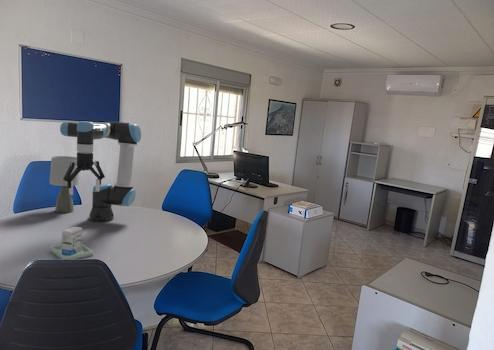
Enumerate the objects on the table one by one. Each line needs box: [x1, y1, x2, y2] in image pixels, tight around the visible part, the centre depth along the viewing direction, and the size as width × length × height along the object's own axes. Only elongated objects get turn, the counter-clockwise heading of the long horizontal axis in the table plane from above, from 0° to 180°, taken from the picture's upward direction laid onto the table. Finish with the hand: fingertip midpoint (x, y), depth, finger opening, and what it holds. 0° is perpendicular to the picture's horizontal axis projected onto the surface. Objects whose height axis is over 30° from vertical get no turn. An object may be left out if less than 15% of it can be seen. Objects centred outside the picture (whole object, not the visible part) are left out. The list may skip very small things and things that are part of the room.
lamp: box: [48, 155, 81, 214], centre depth 229 cm, size 19×19×37 cm
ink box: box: [61, 226, 83, 255], centre depth 165 cm, size 9×5×12 cm, turn 168°
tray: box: [50, 243, 94, 260], centre depth 166 cm, size 13×16×2 cm
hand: (84, 192), depth 175 cm, fingers open, 13 cm apart
